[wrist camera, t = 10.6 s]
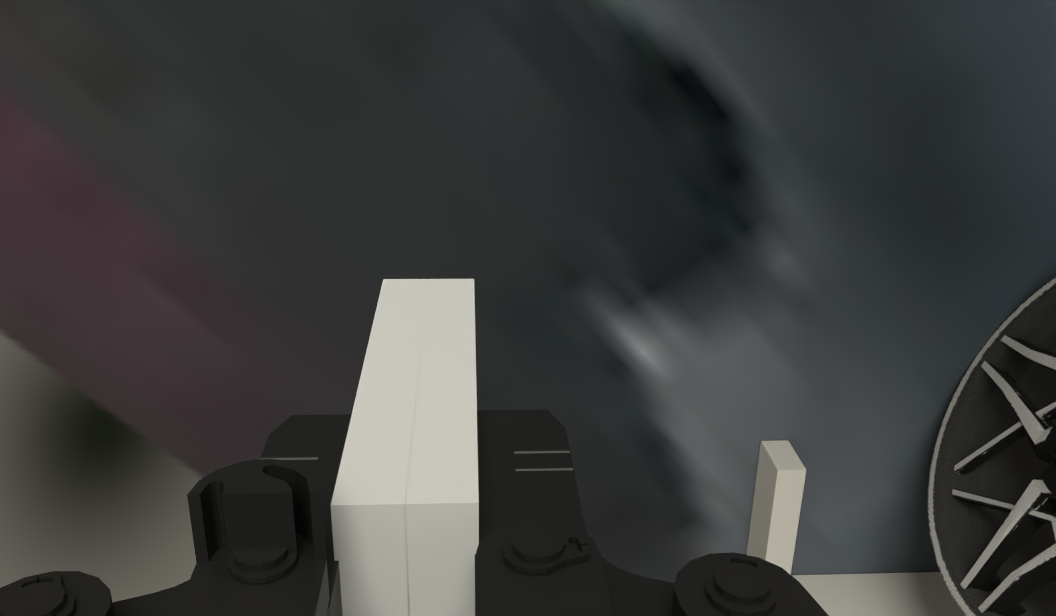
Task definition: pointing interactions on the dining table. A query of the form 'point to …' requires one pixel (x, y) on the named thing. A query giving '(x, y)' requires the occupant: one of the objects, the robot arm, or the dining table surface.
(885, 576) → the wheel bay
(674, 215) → the dining table surface
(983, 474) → the wheel rim
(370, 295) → the dining table surface
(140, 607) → the robot arm
